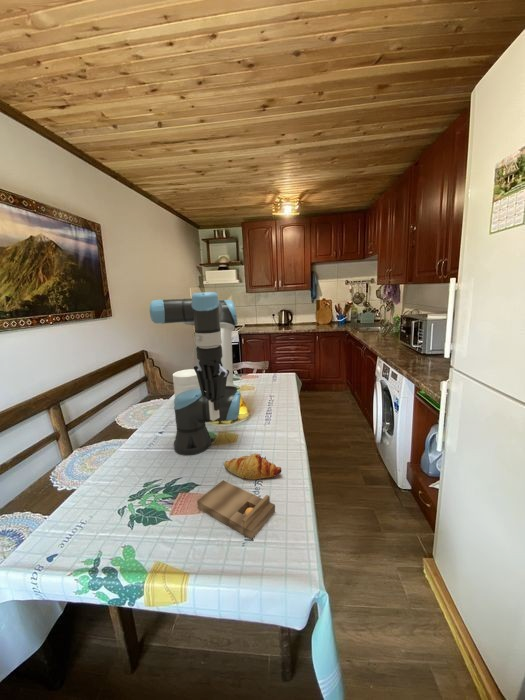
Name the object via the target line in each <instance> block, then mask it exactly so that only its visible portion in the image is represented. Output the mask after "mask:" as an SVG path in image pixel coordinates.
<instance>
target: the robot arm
mask: <svg viewBox="0 0 525 700" xmlns="http://www.w3.org/2000/svg"><path fill="white" fill-rule="evenodd" d="M149 316H150V320H151V321H152V322H153V324H162V325H164V324H165V325H166V324H179V323H181V324H183V325H185V326H187V325H188V326H193V327H194V336H195V337H194V341H195V346H196V347H195V352H196V358H197V360H198V364H197V365H195V366H194V365H193V369H194V370H195V372H196V374H197V378H198V382H199V386H200V389H192V390H187V391H184V392H182V393H180V394H178V395H177V396H176V397H175V396H174V400H173V404H174V406H173V409H174V417H175V424H176V425H175V426H176V427H175V428H176V434H175V439H174V443H173V448H174V451H175V453H176V454H178V455H179V454H180V455H183V456H193V455H198V454H200V453H203V452H205V451H207V450H208V449H209V448H210V447H211V445H212V437H211V435H210V432H209V430H208V428H207V425H206V424H207V423H214V422H217V423H218V422H230V421H237V419H238V418H239V416H240V408H241V394H242V392H241V391H239V390H238V388H237V386H236V385H235V384H234V374H233V372H234V369H233V368H234V367H233V341H232V340H233V339H232V332H233V331H235V328H236V327H235V326H237V325H238V318H237V312H236V306H235V302H234V301H233V300H231V299H222V300H219V294H218V293H217V292H214V291H207V292H206V291H204V292H193V293H192V295H191V298H177V299H175V298H174V299H173V298H172V299H170V298H169V299H162V298H161V299H154V300H151V302H150V303H149Z"/></svg>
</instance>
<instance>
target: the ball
mask: <svg viewBox="0 0 525 700" xmlns="http://www.w3.org/2000/svg"><path fill="white" fill-rule="evenodd" d="M252 509H253V508H247V509H246V511H245V512H244V515H245V516H247V515H248V513H249V512H250V511H251V510H252Z"/></svg>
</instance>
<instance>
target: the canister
mask: <svg viewBox="0 0 525 700" xmlns="http://www.w3.org/2000/svg"><path fill="white" fill-rule="evenodd" d="M172 381H173V391H174V398H175V397H176V396H177V395H178V394H180V393H182V392H184V391H187V390H192V389H200V386H199V382H198V378H197V374H196V372H195V370H194V368H189V369H182V370H178V371H175V372H174V373H172Z"/></svg>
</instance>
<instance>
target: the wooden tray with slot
mask: <svg viewBox="0 0 525 700" xmlns="http://www.w3.org/2000/svg"><path fill="white" fill-rule="evenodd" d="M270 500H271V499H270V495H269V494H266V495H265V496H264V497H263V498H262V497H259V496H257V495H256V494H254V493H251V492H249V491H247V490H245V489H243V488H241V487H238V486H236V485H234V484H232V483H230V482H227V481H225V480H222V481H220V482H219V483H218V484H216V485H215V486H214V487H212V488H211V489H210V490H209V491H207V492H206V493H205V494H203V495H202V496H201V497H200V498H199V499H197V500H196V501H197V502H196V503H197V504H196V505H197V509H199V510H200V511H201V512H203V513H206V514H207V515H209V516H210V517H212V518H214V519H216V520H217V521H219V522H221V524H224V525H226V526H228V527H229V528H231V529H232V530H234V531H236V532H238V533H240V534H242V535H243V536H245V537H246V538H248V539H249V540H252V539H254V537H255V536H256V535H257V534H258V533H259V531H260V530H261V529H262V528H263V527H264V526H265V524H266V523H267V522H268V521H269V520H270V519H271V517H272V516H273V515H274V514H275V513H276V508H275V507H276V505H275V503H272V502H271V501H270ZM247 508H253V509H252V510H251V511H250V512H249V513H248V515H247V516H245V511H246V509H247Z"/></svg>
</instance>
